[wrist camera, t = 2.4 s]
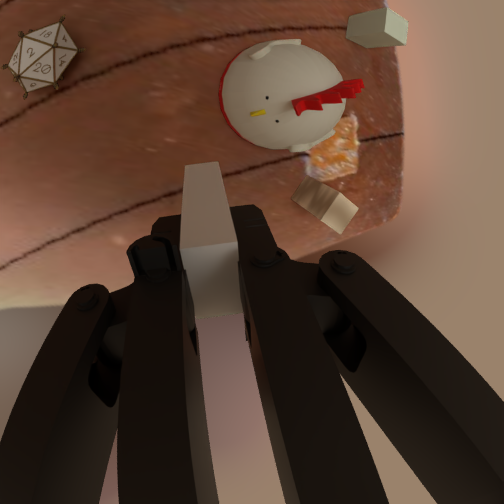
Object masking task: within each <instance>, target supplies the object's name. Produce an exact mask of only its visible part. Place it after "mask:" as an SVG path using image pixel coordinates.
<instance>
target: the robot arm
mask: <svg viewBox="0 0 504 504" xmlns="http://www.w3.org/2000/svg"><path fill="white" fill-rule="evenodd" d="M126 253H127V256H128V259H129V262H130V265H131V267H132V270H133V273H134V276H135V278H134V282H133V283H132V284H130V285H129V286H127V287H124V288H122V289H119V290H117V291H114V292H111V293H109V291H108V289H107V288H106V287H105V286H104V285H100V284H89V285H86V286H83V287H81V288H80V289H78V290H77V291H75V292H74V293H73V294H72V296H71V297H70V298H69V299H68V301H67V303H66V304H65V306H64V308H63V309H62V311H61V313H60V314H59V316H58V318H57V319H56V321H55V323H54V325H53V326H52V328H51V330H50V332H49V334H48V336H47V337H46V339H45V341H44V343H43V345H42V347H41V349H40V350H39V352H38V355H37V356H36V358H35V360H34V362H33V365H32V366H31V369H30V371H29V373H28V375H27V377H26V379H25V381H24V383H23V386H22V388H21V390H20V392H19V395H18V397H17V399H16V402H15V404H14V407H13V409H12V411H11V414H10V417H9V419H8V422H7V425H6V427H5V430H4V433H3V436H2V438H1V441H0V504H99V500H100V496H101V491H102V487H103V482H104V478H105V474H106V470H107V465H108V461H109V457H110V454H111V449H112V446H113V442H114V438H115V435H116V431H117V428H118V432H117V470H118V472H117V474H118V497H119V504H219V500H218V494H217V489H216V482H215V477H214V470H213V464H212V458H211V450H210V443H209V436H208V428H207V420H206V412H205V404H204V395H203V385H202V375H201V364H200V353H199V340H198V331H197V328H196V324H195V316H196V319H202V318H210V317H218V316H225V315H231V314H238V313H244V321H245V334H246V341H248V343H249V348H250V353H251V357H252V362H253V366H254V371H255V375H256V380H257V385H258V389H259V394H260V398H261V402H262V407H263V411H264V415H265V420H266V424H267V429H268V433H269V437H270V441H271V445H272V450H273V454H274V458H275V462H276V466H277V470H278V475H279V478H280V483H281V486H282V491H283V495H284V499H285V503H286V504H389V502H388V499H387V497H386V493H385V491H384V488H383V485H382V483H381V479H380V477H379V474H378V471H377V469H376V466H375V463H374V460H373V458H372V455H371V452H370V450H369V447H368V444H367V442H366V439H365V436H364V434H363V431H362V429H361V426H360V424H359V421H358V418H357V416H356V413H355V411H354V408H353V406H352V403H351V401H350V398H349V396H348V393H347V391H346V388H345V386H344V383H343V381H342V378H341V376H342V377H343V378H344V379H345V381H346V382H347V384H348V385H349V386H350V387H351V389H352V390H353V392H354V393H355V394H356V395H357V397H358V398H359V400H360V401H361V402H362V404H363V405H364V406H365V408H366V409H367V410H368V412H369V413H370V414H371V416H372V417H373V418H374V420H375V421H376V422H377V424H378V425H379V426H380V428H381V429H382V431H383V432H384V433H385V435H386V436H387V437H388V439H389V440H390V441H391V442H392V444H393V445H394V446H395V448H396V449H397V451H398V452H399V453H400V455H401V456H402V457H403V458H404V460H405V461H406V462H407V464H408V465H409V466H410V468H411V469H412V470H413V472H414V473H415V475H416V476H417V477H418V479H419V480H420V481H421V483H422V484H423V485H424V487H425V488H426V489H427V491H428V492H429V493H430V495H431V496H432V497H433V499H434V500H435V501H436V503H437V504H504V402H503V401H502V399H501V398H500V397H499V396H498V395H497V393H496V392H495V391H494V390H493V389H492V388H491V386H489V384H488V383H487V382H486V381H485V380H484V378H483V377H482V376H481V375H480V374H479V373H478V372H477V371H476V370H475V369H474V367H473V366H472V365H471V364H470V363H469V362H468V361H467V360H466V359H465V358H464V357H463V355H462V354H461V353H460V352H459V351H458V350H457V349H456V348H455V347H454V346H453V345H452V344H451V343H450V342H449V341H448V340H447V339H446V338H445V337H444V336H443V335H442V334H441V332H440V331H439V330H437V329H436V327H435V326H434V325H432V323H430V321H429V320H428V319H427V318H426V317H425V316H423V315H422V314H421V313H420V312H419V311H418V310H417V309H416V308H415V307H414V306H413V305H412V304H411V303H410V302H409V301H408V300H407V299H406V298H405V297H404V296H403V295H402V294H401V293H399V292H398V291H397V290H396V289H395V288H394V287H393V286H392V285H391V284H390V283H389V282H388V281H387V280H385V279H384V278H383V277H382V276H381V275H380V274H379V273H378V272H377V271H376V270H375V269H373V268H372V267H371V266H370V265H369V264H368V263H367V262H366V261H364V260H363V259H362V258H361V257H359V256H358V255H356V254H355V253H351V252H348V251H343V250H335V251H329V252H327V253H325V254H324V255H322V257H321V258H320V260H319V264H314V263H303V262H297V261H294V260H291V259H290V258H289V256H288V254H287V253H286V252H285V251H284V250H282V249H280V248H279V247H277V245H276V242H275V240H274V238H273V235H272V233H271V231H270V228H269V226H268V224H267V221H266V219H265V217H264V215H263V212H262V210H261V209H259V208H258V207H256V206H255V205H253V204H252V205H243V206H235V207H229V205H228V200H227V196H226V192H225V188H224V184H223V180H222V176H221V171H220V167H219V163H218V161H217V162H208V163H200V164H192V165H185V174H184V186H183V199H182V214H180V215H173V216H166V217H159V218H158V220H157V221H156V222H155V223H154V224H153V225H152V230H151V235H148V236H144V237H142V238H140V239H138V240H136V241H135V242H134V243H132V244H131V245H130V246H129V248H128V250H127V251H126ZM340 374H341V376H340Z"/></svg>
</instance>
